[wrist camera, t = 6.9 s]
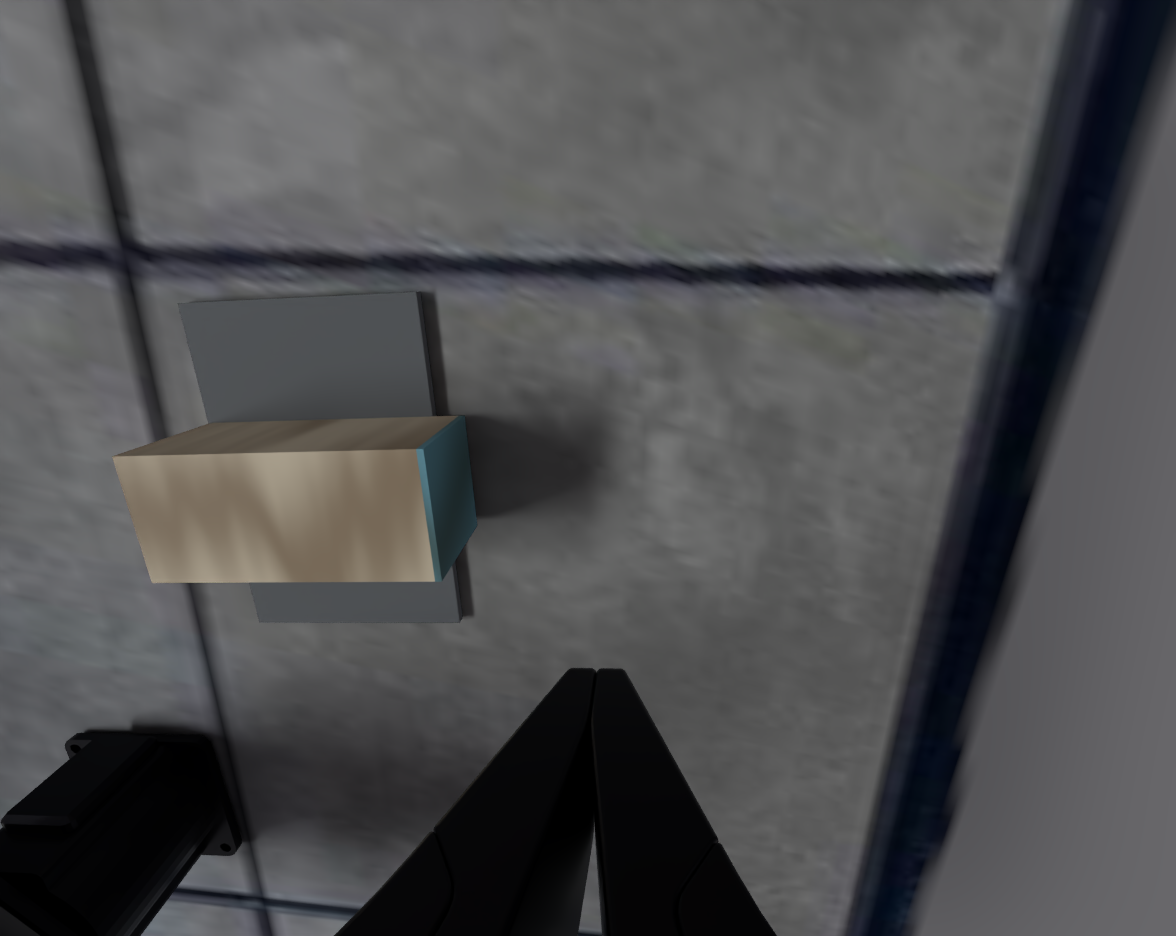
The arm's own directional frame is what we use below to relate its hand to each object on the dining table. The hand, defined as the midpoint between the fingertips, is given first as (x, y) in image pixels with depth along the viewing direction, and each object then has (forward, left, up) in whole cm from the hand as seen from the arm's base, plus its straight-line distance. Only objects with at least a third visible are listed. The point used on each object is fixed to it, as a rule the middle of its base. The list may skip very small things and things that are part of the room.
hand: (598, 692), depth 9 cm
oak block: (0, +5, -9) cm, 11 cm away
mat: (0, +10, -12) cm, 15 cm away
